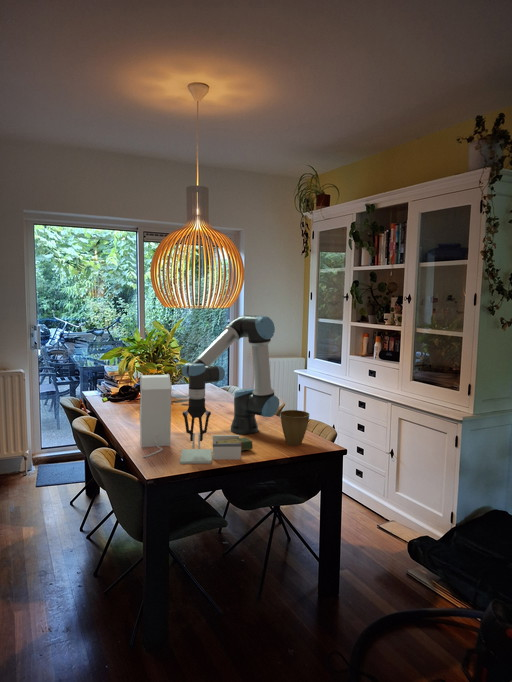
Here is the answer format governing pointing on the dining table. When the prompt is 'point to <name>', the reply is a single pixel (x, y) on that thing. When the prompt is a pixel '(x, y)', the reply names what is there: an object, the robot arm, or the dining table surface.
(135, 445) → the dining table surface
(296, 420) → the plant pot
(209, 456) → the plate
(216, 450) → the rack
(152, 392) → the tall slanted-top box
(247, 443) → the carton
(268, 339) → the robot arm
